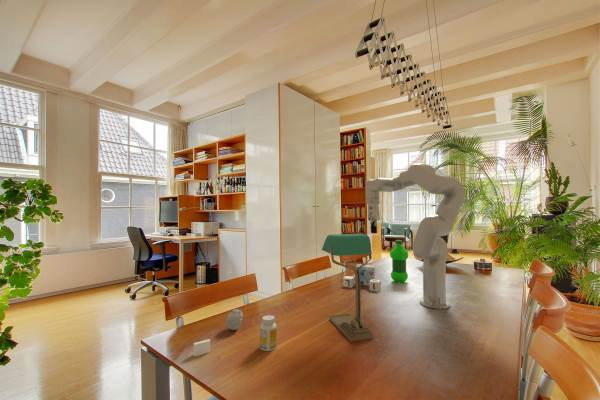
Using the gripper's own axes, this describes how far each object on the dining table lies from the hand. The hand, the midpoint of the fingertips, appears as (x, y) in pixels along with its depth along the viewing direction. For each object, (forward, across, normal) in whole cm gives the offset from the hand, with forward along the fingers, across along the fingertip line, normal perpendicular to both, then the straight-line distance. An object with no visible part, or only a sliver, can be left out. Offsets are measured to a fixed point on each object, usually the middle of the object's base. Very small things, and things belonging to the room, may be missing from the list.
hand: (373, 233), depth 161 cm
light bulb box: (+30, +3, +7) cm, 31 cm away
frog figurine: (+31, -81, +33) cm, 93 cm away
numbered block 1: (+31, -6, -1) cm, 31 cm away
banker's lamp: (+32, -59, -4) cm, 67 cm away
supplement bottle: (+32, -86, +14) cm, 93 cm away
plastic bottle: (+31, +17, -10) cm, 37 cm away
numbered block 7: (+30, -6, +14) cm, 34 cm away
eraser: (+31, -99, +30) cm, 108 cm away
